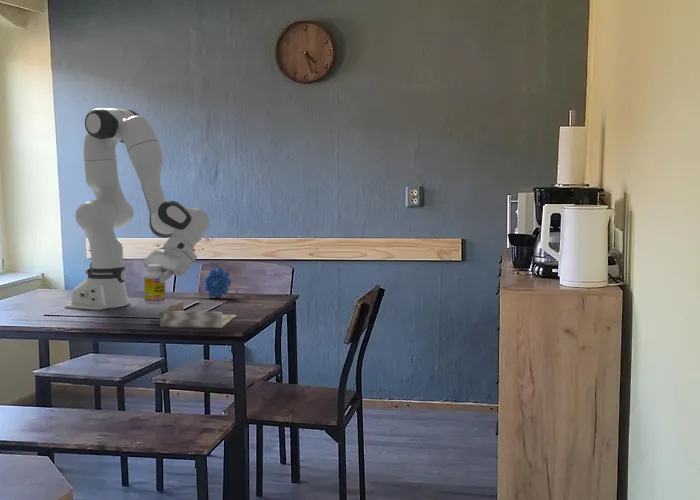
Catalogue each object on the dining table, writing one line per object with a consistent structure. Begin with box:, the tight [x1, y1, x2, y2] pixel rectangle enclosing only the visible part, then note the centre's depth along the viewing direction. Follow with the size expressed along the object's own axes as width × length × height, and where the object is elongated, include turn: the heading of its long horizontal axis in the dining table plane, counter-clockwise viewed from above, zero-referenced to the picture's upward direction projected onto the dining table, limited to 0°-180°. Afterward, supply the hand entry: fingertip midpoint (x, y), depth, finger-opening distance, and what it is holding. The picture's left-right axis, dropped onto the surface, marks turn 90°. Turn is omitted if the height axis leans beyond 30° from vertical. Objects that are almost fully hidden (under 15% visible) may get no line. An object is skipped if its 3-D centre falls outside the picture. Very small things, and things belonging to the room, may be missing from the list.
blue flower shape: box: [203, 267, 232, 299], centre depth 280 cm, size 12×7×12 cm, turn 72°
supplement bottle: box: [143, 264, 166, 305], centre depth 243 cm, size 7×7×13 cm
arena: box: [159, 300, 237, 329], centre depth 238 cm, size 20×18×5 cm
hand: (153, 281), depth 242 cm, fingers closed on supplement bottle, 7 cm apart
